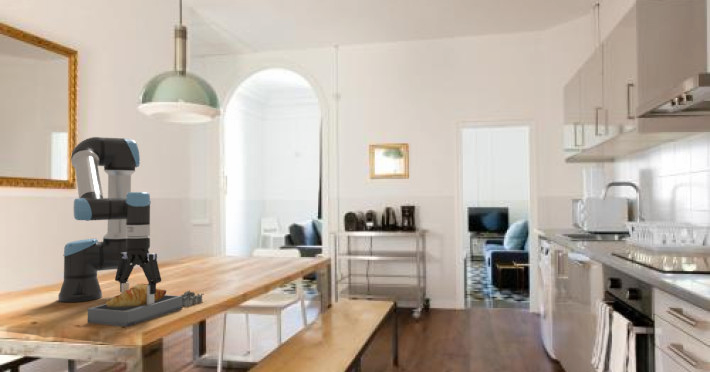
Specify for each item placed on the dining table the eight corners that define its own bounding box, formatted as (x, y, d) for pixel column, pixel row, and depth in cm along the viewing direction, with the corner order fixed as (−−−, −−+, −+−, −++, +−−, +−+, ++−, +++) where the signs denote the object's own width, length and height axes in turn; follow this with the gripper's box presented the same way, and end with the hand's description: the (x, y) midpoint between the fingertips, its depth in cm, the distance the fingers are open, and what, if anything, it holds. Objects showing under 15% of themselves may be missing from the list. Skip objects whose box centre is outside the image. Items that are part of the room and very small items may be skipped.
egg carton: (189, 300, 193) (189, 289, 193) (205, 301, 190) (206, 291, 190) (171, 305, 183) (171, 294, 183) (187, 307, 180) (188, 295, 180)
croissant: (111, 321, 156) (117, 300, 154) (96, 303, 161) (102, 283, 159) (170, 307, 174) (176, 288, 172) (154, 291, 179) (160, 273, 177)
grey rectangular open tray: (87, 322, 157) (87, 308, 157) (146, 305, 182) (146, 293, 182) (127, 326, 152) (127, 312, 152) (182, 308, 177) (182, 296, 177)
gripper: (103, 237, 168) (102, 303, 167) (157, 238, 160) (157, 307, 160) (120, 236, 175) (119, 298, 174) (172, 236, 167) (172, 302, 167)
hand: (137, 302), depth 167 cm, fingers closed on croissant, 10 cm apart
